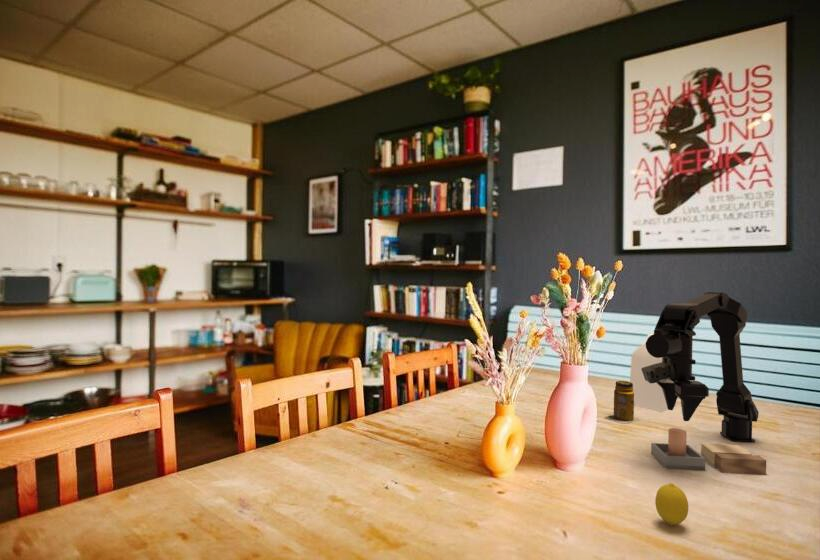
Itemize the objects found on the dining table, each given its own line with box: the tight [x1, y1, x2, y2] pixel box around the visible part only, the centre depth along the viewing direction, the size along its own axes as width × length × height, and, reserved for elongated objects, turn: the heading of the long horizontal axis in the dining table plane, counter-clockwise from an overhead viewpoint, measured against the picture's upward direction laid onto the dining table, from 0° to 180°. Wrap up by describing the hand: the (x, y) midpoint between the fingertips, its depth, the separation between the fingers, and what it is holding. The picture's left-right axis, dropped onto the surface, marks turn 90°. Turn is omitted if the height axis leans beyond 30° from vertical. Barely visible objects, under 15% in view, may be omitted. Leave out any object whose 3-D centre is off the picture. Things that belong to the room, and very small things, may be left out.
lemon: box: [655, 482, 689, 526], centre depth 91 cm, size 6×6×8 cm
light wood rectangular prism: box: [700, 442, 753, 468], centre depth 120 cm, size 9×6×4 cm, turn 82°
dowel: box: [667, 427, 687, 457], centre depth 121 cm, size 4×4×7 cm
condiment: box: [604, 380, 640, 425], centre depth 156 cm, size 7×8×12 cm
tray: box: [650, 442, 707, 472], centre depth 121 cm, size 9×9×3 cm
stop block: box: [714, 453, 767, 476], centre depth 116 cm, size 10×3×4 cm, turn 83°
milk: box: [629, 332, 677, 413], centre depth 171 cm, size 12×12×26 cm
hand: (677, 415), depth 121 cm, fingers open, 9 cm apart
